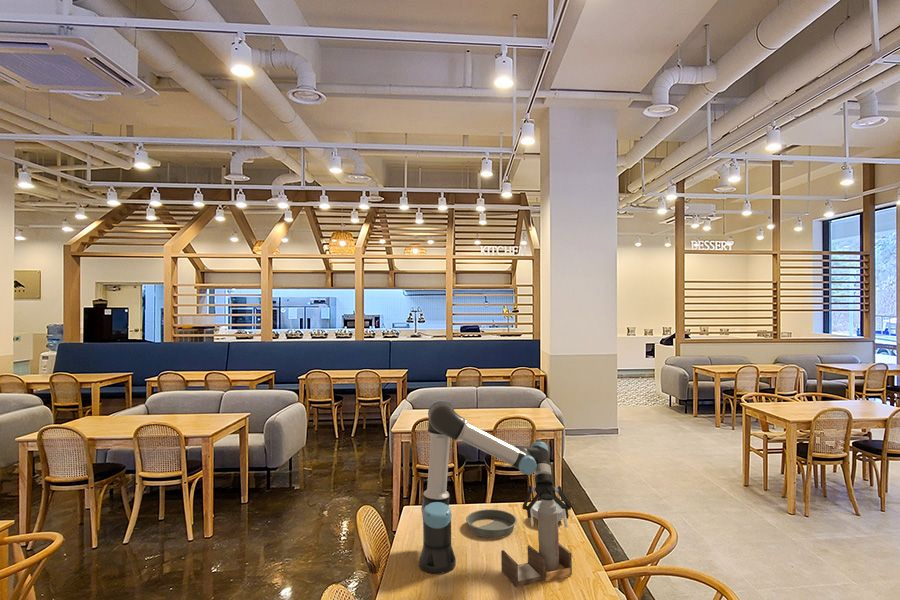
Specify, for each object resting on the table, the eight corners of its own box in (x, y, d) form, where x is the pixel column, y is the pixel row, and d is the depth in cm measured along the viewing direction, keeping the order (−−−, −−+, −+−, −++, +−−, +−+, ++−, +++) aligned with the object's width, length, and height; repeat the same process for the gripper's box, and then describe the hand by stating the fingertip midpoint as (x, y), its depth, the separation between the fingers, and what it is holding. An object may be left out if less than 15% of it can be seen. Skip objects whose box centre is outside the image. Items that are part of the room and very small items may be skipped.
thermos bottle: (561, 564, 200) (560, 494, 201) (555, 573, 194) (553, 500, 195) (543, 559, 205) (541, 491, 206) (535, 567, 198) (534, 497, 199)
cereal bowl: (527, 514, 255) (527, 500, 255) (558, 512, 257) (558, 499, 257) (537, 528, 238) (536, 513, 238) (570, 526, 240) (570, 512, 240)
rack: (516, 588, 186) (516, 565, 187) (501, 572, 198) (501, 550, 198) (572, 575, 195) (572, 553, 195) (555, 560, 207) (554, 540, 207)
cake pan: (516, 518, 250) (516, 509, 251) (517, 540, 226) (517, 530, 226) (467, 516, 253) (467, 507, 253) (464, 538, 229) (464, 528, 229)
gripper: (570, 480, 218) (578, 530, 203) (513, 480, 219) (517, 529, 204) (573, 472, 213) (581, 522, 198) (514, 472, 214) (519, 522, 199)
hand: (549, 526), depth 201 cm, fingers open, 13 cm apart
